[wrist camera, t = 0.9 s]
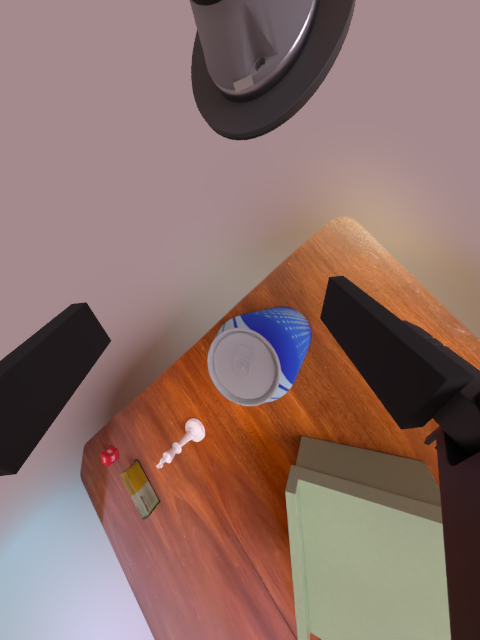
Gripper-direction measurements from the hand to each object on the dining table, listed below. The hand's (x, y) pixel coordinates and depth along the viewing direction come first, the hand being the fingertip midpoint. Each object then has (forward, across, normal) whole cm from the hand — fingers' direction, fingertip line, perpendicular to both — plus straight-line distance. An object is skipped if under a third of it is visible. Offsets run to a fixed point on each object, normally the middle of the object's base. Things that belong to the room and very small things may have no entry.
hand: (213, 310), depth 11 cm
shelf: (-5, +16, -36) cm, 39 cm away
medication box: (+8, -27, -57) cm, 64 cm away
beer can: (+13, +8, -14) cm, 21 cm away
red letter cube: (+16, -39, -56) cm, 70 cm away
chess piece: (+11, -10, -36) cm, 39 cm away
